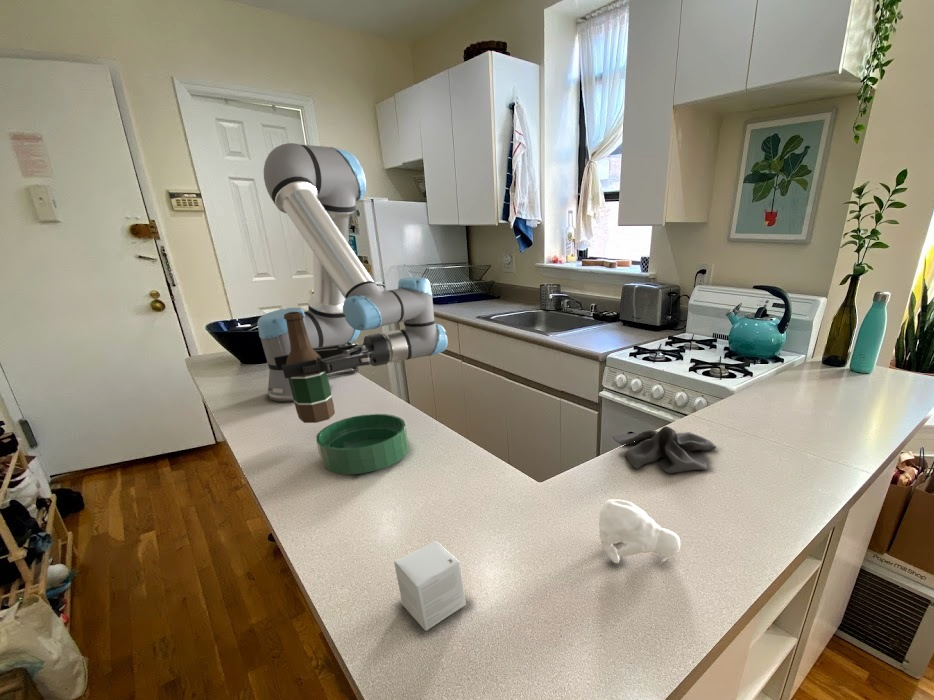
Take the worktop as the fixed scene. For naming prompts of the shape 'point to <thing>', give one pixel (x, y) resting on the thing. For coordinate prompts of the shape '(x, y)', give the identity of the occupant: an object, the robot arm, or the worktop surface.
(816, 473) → the worktop surface
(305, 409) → the beer bottle
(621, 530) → the white irregular figure
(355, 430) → the green bowl
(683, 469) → the cloth
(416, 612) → the product box
